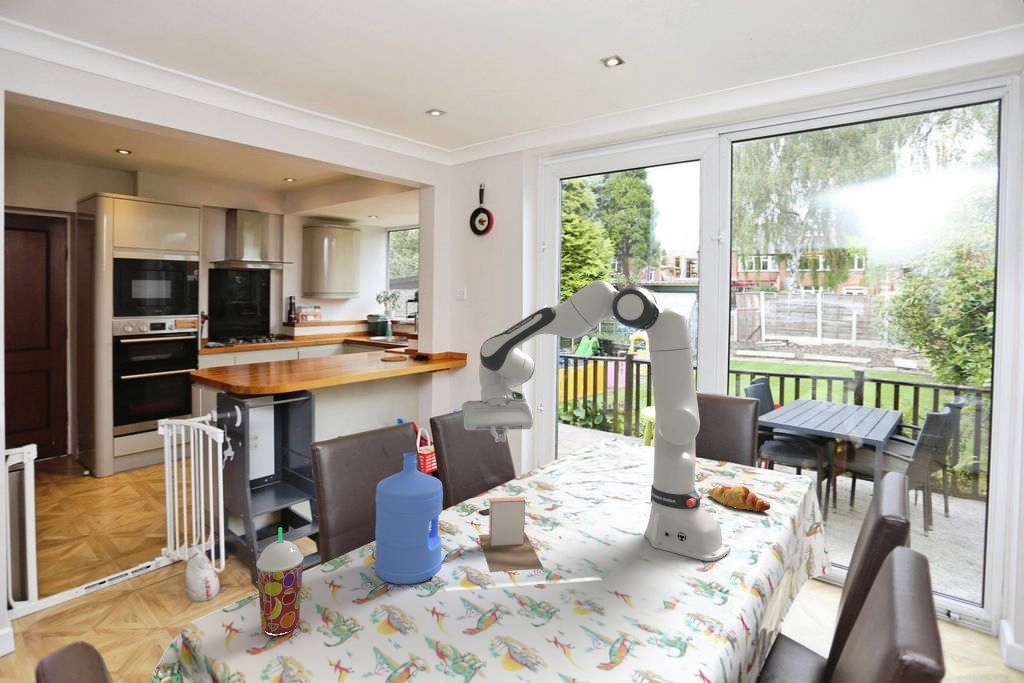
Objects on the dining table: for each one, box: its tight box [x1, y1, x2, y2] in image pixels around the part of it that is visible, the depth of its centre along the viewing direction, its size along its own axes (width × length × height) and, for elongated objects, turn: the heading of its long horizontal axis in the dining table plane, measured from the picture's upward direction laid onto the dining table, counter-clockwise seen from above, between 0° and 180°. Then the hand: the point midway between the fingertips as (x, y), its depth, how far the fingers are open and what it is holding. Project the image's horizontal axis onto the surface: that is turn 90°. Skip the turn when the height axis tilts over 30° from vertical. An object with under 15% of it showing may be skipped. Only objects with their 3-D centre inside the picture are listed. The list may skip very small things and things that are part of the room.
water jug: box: [374, 452, 444, 585], centre depth 132 cm, size 16×16×28 cm
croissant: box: [707, 485, 771, 512], centre depth 182 cm, size 21×10×8 cm, turn 42°
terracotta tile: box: [488, 496, 526, 547], centre depth 146 cm, size 3×9×12 cm, turn 101°
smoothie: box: [255, 527, 304, 634], centre depth 107 cm, size 8×8×20 cm
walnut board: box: [478, 532, 544, 573], centre depth 143 cm, size 21×13×1 cm, turn 11°
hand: (500, 441), depth 157 cm, fingers closed
